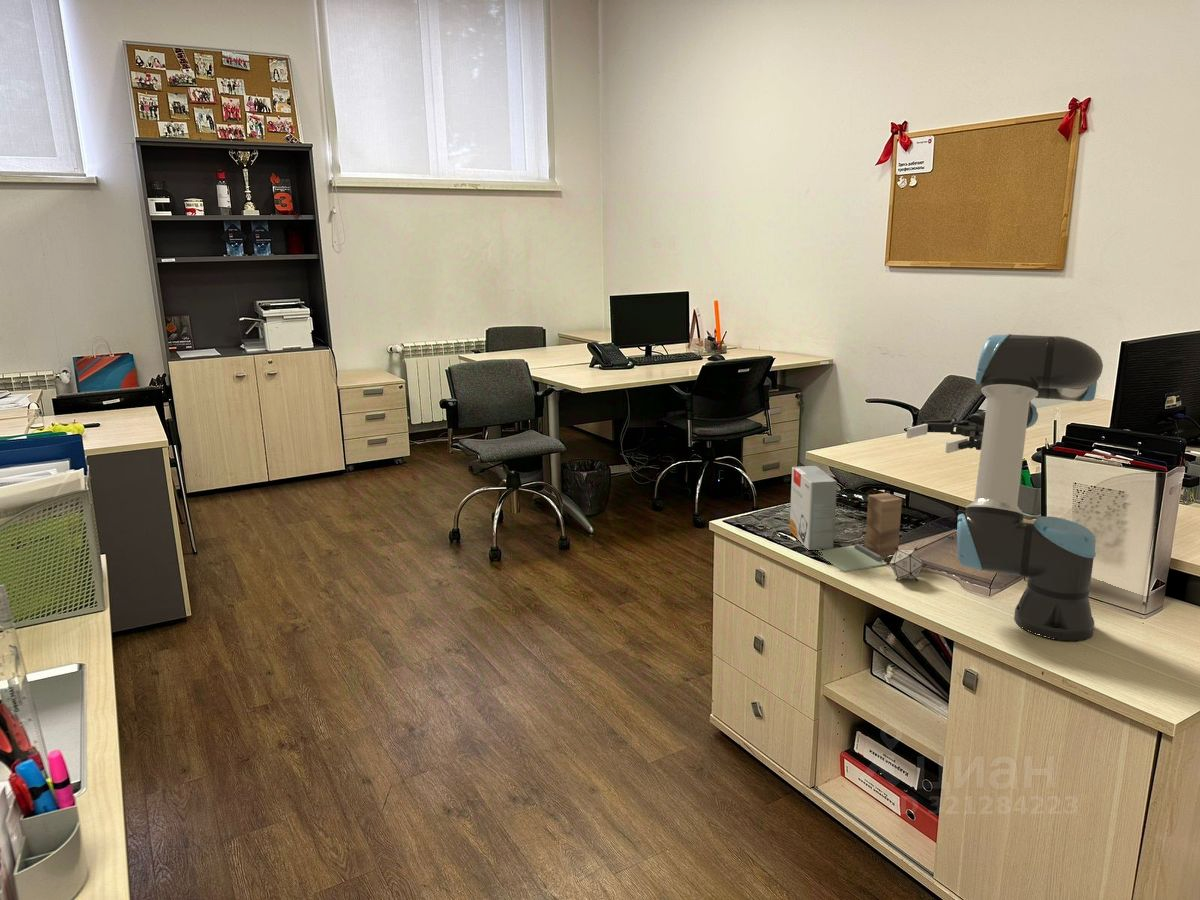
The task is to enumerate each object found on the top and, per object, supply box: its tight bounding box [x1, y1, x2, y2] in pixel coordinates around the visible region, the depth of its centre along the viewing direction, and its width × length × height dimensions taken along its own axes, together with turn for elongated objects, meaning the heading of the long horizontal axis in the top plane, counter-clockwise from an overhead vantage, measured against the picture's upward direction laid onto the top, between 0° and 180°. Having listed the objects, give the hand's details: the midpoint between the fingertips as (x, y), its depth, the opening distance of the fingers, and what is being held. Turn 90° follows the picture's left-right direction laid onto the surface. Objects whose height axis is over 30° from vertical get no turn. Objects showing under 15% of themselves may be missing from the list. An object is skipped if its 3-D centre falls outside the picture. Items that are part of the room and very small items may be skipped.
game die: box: [886, 547, 928, 582], centre depth 200 cm, size 9×8×10 cm
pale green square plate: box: [816, 543, 889, 573], centre depth 214 cm, size 14×13×2 cm
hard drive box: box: [789, 465, 838, 551], centre depth 225 cm, size 16×8×20 cm, turn 6°
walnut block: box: [864, 492, 903, 560], centre depth 215 cm, size 6×6×16 cm
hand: (926, 440), depth 211 cm, fingers open, 13 cm apart
